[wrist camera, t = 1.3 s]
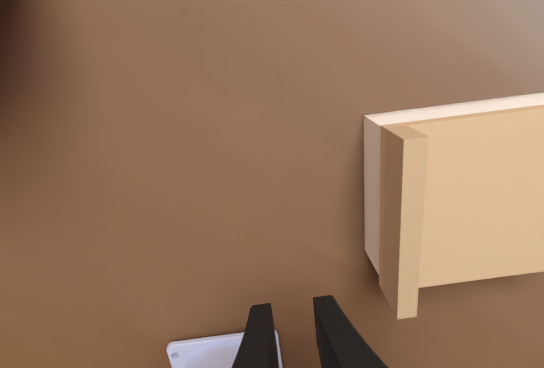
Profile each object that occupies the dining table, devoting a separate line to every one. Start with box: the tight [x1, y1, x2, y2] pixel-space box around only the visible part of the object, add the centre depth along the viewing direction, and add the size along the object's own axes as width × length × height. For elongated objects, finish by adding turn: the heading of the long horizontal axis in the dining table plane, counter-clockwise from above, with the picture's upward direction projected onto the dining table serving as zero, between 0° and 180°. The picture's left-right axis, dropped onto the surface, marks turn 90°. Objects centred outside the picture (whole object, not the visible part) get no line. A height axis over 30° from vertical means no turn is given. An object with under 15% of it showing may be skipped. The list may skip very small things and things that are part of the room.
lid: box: [379, 105, 544, 319], centre depth 17 cm, size 11×9×3 cm
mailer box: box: [363, 92, 544, 275], centre depth 19 cm, size 11×9×3 cm
